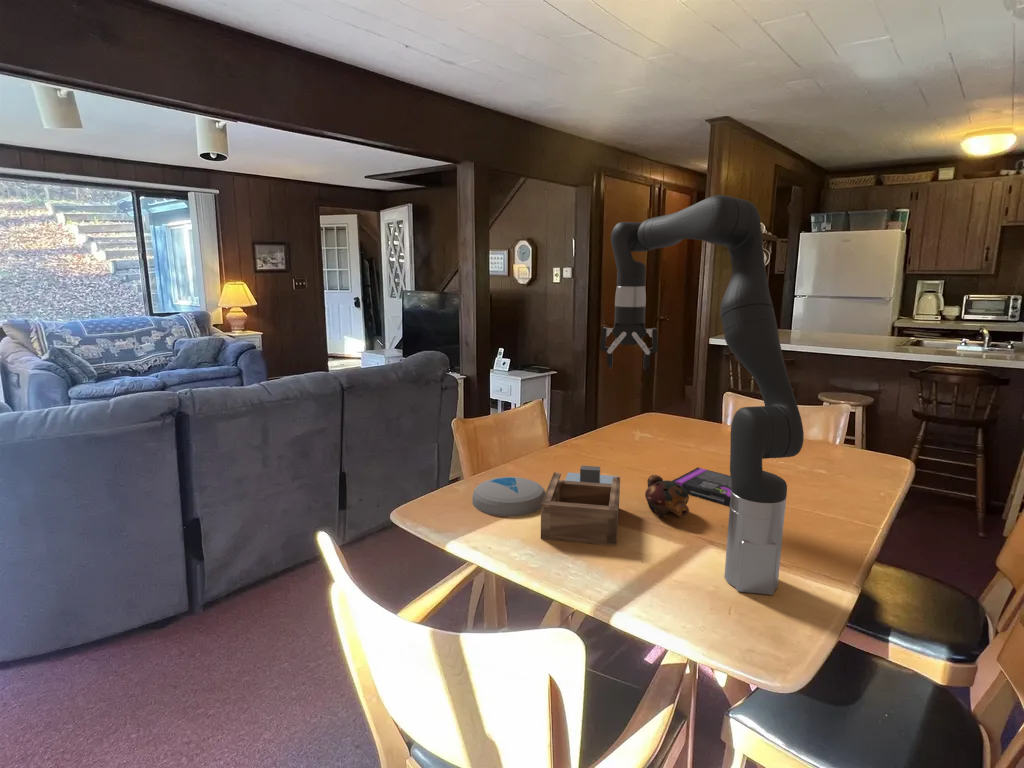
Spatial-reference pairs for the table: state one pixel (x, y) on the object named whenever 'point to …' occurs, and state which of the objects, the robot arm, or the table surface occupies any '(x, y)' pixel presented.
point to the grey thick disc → (508, 496)
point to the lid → (589, 475)
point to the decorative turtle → (666, 497)
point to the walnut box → (580, 511)
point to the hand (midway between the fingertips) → (627, 368)
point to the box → (707, 485)
